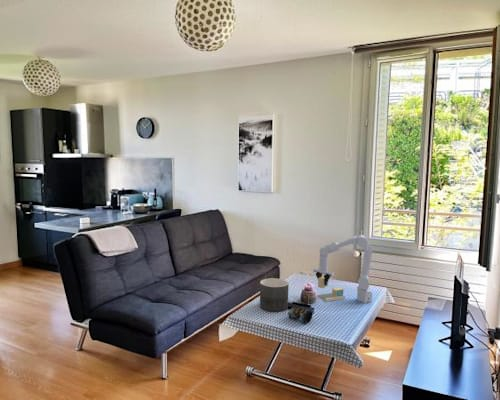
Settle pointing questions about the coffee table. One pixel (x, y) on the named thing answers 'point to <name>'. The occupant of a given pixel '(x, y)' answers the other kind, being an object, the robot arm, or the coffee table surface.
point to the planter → (274, 294)
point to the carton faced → (337, 292)
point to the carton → (322, 282)
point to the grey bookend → (330, 297)
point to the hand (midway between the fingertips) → (322, 284)
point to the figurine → (301, 314)
